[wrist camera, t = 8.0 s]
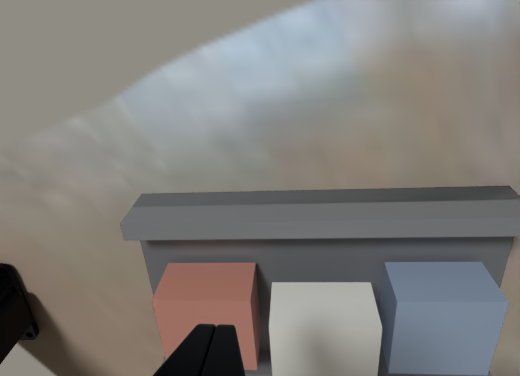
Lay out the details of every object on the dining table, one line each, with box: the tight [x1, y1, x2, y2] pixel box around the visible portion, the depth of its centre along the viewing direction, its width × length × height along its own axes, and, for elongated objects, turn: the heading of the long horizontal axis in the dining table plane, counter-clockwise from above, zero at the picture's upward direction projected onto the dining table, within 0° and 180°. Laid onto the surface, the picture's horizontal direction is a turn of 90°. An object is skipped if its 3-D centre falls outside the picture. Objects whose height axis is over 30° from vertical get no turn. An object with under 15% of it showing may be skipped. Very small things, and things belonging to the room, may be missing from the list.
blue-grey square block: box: [379, 262, 509, 375], centre depth 21 cm, size 5×5×3 cm
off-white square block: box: [269, 282, 382, 376], centre depth 20 cm, size 5×5×3 cm
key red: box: [152, 263, 261, 370], centre depth 22 cm, size 5×5×3 cm
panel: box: [120, 186, 520, 376], centre depth 23 cm, size 20×12×3 cm, turn 94°
